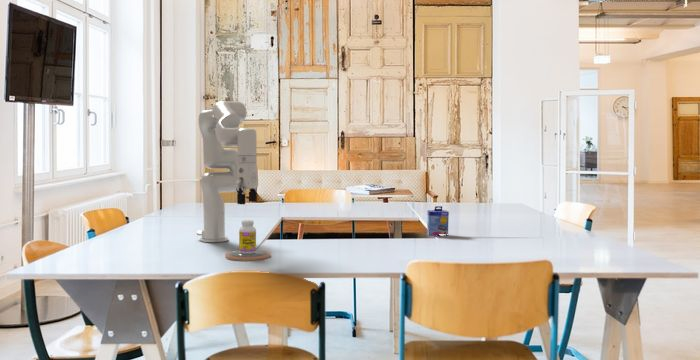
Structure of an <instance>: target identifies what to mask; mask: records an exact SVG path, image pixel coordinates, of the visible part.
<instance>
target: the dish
mask: <svg viewBox="0 0 700 360" xmlns="http://www.w3.org/2000/svg"><path fill="white" fill-rule="evenodd" d="M271 254H272V253H271V252H270V251H269V250H262V249H256V252H255V253H253V254H241V253H240V252H239V250H232V251H228V252H225V253H224V258H225V259H226V260H230V261H237V262H238V261H241V262H247V261H251V262H252V261H261V260H262V261H263V260H266V259H270V257H271V256H272V255H271Z"/></svg>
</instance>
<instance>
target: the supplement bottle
mask: <svg viewBox="0 0 700 360" xmlns="http://www.w3.org/2000/svg"><path fill="white" fill-rule="evenodd" d="M241 225H242V226H241V227H239V230H238V231H239V232H238V236H239V237H238V239H239V240H238V241H239V242H238V243H239V245H238V247H239V248H238V249H239V252H240V253H241V254H253V253H255V252H256V250H257V229H256V227H255V226H254V220H247V219H246V220H241Z"/></svg>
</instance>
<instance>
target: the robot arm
mask: <svg viewBox="0 0 700 360" xmlns="http://www.w3.org/2000/svg"><path fill="white" fill-rule="evenodd" d="M246 117H247V108H246V106H245V104H244V103H243V102H241V101H229V100H228V101H227V100H224V101H218V102H216V103H215V104H213V106H212V109H205V110H203V111H201V112H200V113H199V114H198V128H199V131H200V133H201V137H202V147H203V149H202V152H203V164H204V166H205V168H206V169H208V170H209V169H210V170H224V169H225V170H227V171H209V172H206V173H204V174H202V176H201V178H200V185H201V186H200V187H201V190H202V198H203V200H202V201H203V205H202V207H203V230H198V231H197V232H196V235H197V236H200V237H201V238H200V242H202V243H222V242H227V241H229V237H228V236H226V233H225V232H226V226H225V225H226V222H225V221H226V217H225V216H226V214H225V211H226V210H225V209H226V208H225V205H226V204H225V200H224V199H223V197H222V196H221V195H220V194H221V193H235V192H236V195H237V196H236V197H237V198H236V201H237V205H246V194H245V192H246V190H248V202H250V203H252V202H253V203H254V202H255V203H256V202H257V196H258V195H257V192H258V187H259V174H258V162H257V161H258V160H257V138H258V137H257V130H256V129H255V128H249V127H248V128H247V127H239V126H240V125H241V124H242V123H243V122H244V121H245V120H246ZM229 147H230V148H229ZM233 147H236V149H237V150H236V149H235V148H233Z"/></svg>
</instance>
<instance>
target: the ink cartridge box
mask: <svg viewBox="0 0 700 360" xmlns="http://www.w3.org/2000/svg"><path fill="white" fill-rule="evenodd" d="M449 212H450V211H448V210H446V209H443V206H442V205H440V206H439V205H438V206H434V209H432V210H431V209H430V210H429V209H428V210H427V221H426V222H427V224H426V226H427V228H426V234H427V236H428V237H437V236H436V235H439V234H446V235H447V234H448V235H449V215H450V213H449Z"/></svg>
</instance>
